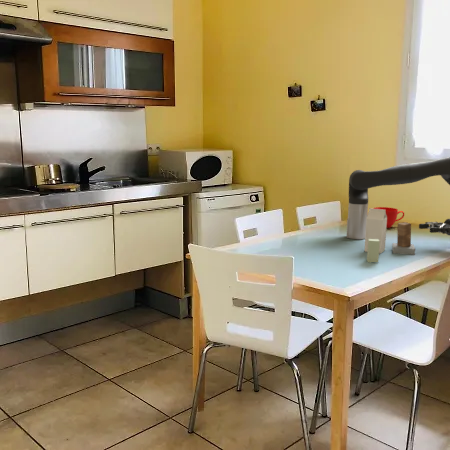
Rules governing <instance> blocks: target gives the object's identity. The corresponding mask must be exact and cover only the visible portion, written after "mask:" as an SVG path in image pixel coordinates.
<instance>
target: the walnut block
mask: <svg viewBox="0 0 450 450" xmlns="http://www.w3.org/2000/svg"><path fill="white" fill-rule="evenodd" d="M411 241H412V223H410V222H398V223H397V241H396V243H397V245H398V246H401V247H408V246H411V244H412V242H411Z"/></svg>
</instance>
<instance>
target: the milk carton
mask: <svg viewBox="0 0 450 450" xmlns="http://www.w3.org/2000/svg"><path fill="white" fill-rule="evenodd" d="M385 211H386V210H383V209H373V208H372V207H371V208H370V207H368V214H367V218H366V234H365V239H364V252H366V253H367V250H368V239H378V240H379V241H380V242H379V254H382V253H383V252H384V251H386V242H387V241H386V240H387V239H386V238H387V228H386V226H387V216H386V212H385Z"/></svg>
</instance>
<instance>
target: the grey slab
mask: <svg viewBox="0 0 450 450" xmlns="http://www.w3.org/2000/svg"><path fill="white" fill-rule="evenodd" d="M391 245H392V246H391V249H392V254H402V255H413V256H414V255H416V248H415V245H414V244H413V243H411V246H408V247H401V246H398V245H397V242H396V243H395V242H393V243H392V244H391Z"/></svg>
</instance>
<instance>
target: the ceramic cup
mask: <svg viewBox="0 0 450 450" xmlns="http://www.w3.org/2000/svg"><path fill="white" fill-rule="evenodd" d="M372 209H383V210H386V211H385V212H386V216H387V226H386V229H390V228H392V227H393V226H394V224H395V223H396V222H398V221H402V219H403V218H404V217H405V212H404V211H402V210H400V211H399V210H398V209H397V208H394V207H387V206H385V207H384V206H379V207H378V206H377V207H373V208H372ZM400 213H402V216H401V217H399V218H398V215H399V214H400ZM397 218H398V219H397Z"/></svg>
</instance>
